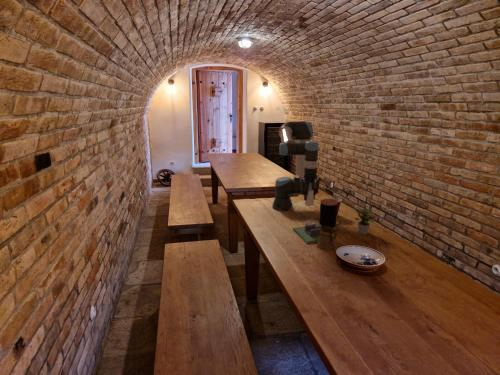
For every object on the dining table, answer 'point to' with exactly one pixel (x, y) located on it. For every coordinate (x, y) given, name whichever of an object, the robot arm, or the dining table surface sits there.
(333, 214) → the coffee jar
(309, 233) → the board
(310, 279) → the dining table surface
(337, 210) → the plastic cup
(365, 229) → the house plant
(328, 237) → the wooden mug
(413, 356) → the dining table surface
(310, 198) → the plug
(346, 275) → the dining table surface
